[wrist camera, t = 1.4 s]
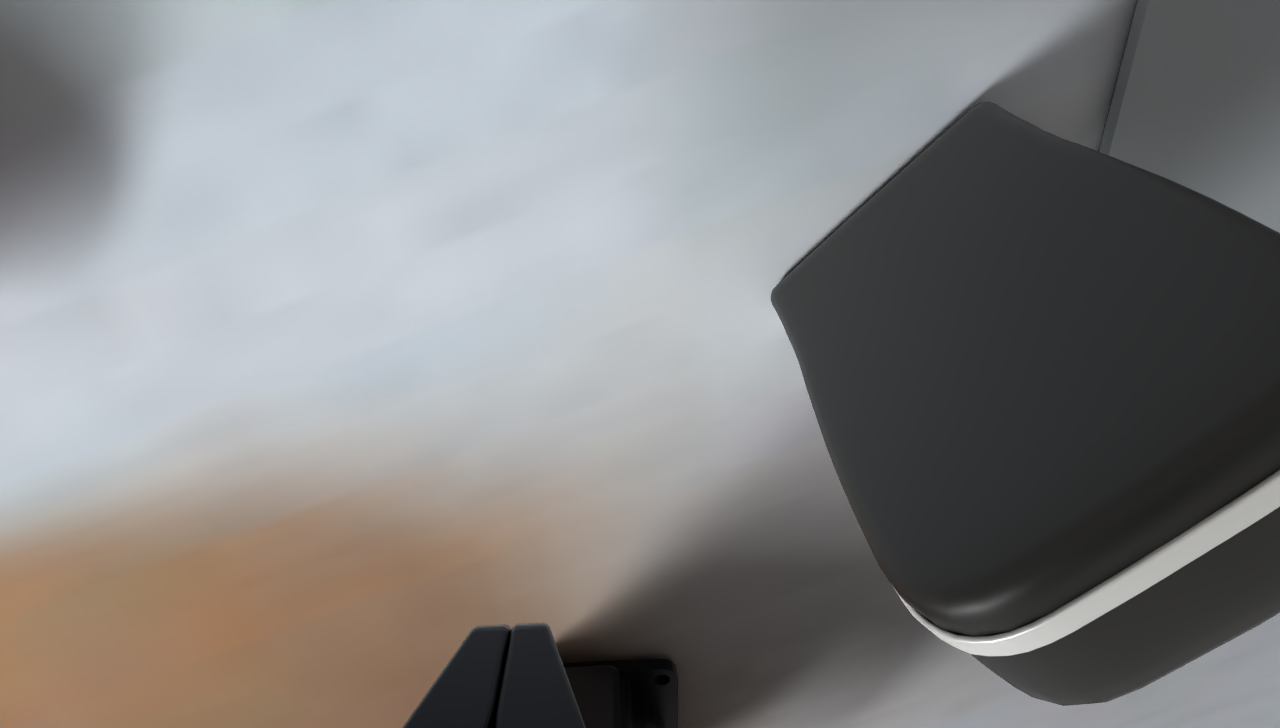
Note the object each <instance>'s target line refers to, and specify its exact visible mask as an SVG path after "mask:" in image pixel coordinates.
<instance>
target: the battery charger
mask: <svg viewBox="0 0 1280 728" xmlns="http://www.w3.org/2000/svg"><path fill="white" fill-rule="evenodd" d="M771 301H772V305H773V306H774V308H775V310H776V312H777V314H778V316H779V318H780V320H781V322H782V324H783V326H784V328H785V331H786V333H787V335H788V337H789V340H790V342H791V344H792V346H793V348H794V351H795V354H796V356H797V359H798V361H799V364H800V367H801V371H802V374H803V377H804V381H805V384H806V387H807V390H808V393H809V396H810V399H811V403H812V406H813V409H814V411H815V414H816V417H817V420H818V423H819V426H820V429H821V432H822V435H823V438H824V441H825V443H826V446H827V449H828V452H829V454H830V457H831V459H832V462H833V464H834V467H835V469H836V472H837V475H838V477H839V480H840V482H841V484H842V487H843V489H844V491H845V493H846V496H847V498H848V500H849V503H850V505H851V507H852V509H853V511H854V514H855V516H856V518H857V520H858V522H859V524H860V527H861V529H862V531H863V533H864V535H865V537H866V539H867V542H868V544H869V546H870V548H871V550H872V552H873V554H874V556H875V558H876V560H877V562H878V564H879V566H880V568H881V569H882V571H883V572H884V574H885V575H886V577H887V578H888V580H889V581H890V583H891V584H892V586H893V588H894V589H895V590H896V592H897V594H898V595H899V597H900V598H901V600H902V602H903V603H904V605H905V606H906V607H907V609H908V610H909V611H910V613H911V614H912V615H913V616H914V617H915V618H916V619H917V620H918V621H919V622H920V623H921V624H923V625H924V626H925V627H926V628H927V629H928V630H930V631H931V632H932V633H934V634H935V635H936V636H937V637H939V638H940V639H941V640H943V641H945V642H946V643H948V644H950V645H952V646H953V647H955V648H957V649H960V650H962V651H965V652H967V653H970V654H971V655H972V656H974V657H975V658H976V659H977V660H979V661H980V662H981V663H982V664H984V665H985V666H986V667H987V668H989V669H990V670H992V671H993V672H994V673H996V674H997V675H999V676H1000V677H1001V678H1003V679H1004V680H1005V681H1007V682H1008V683H1010V684H1011V685H1012V686H1014V687H1016V688H1017V689H1019V690H1021V691H1022V692H1024V693H1026V694H1028V695H1029V696H1031V697H1034V698H1038V699H1041V700H1045V701H1048V702H1052V703H1056V704H1059V705H1063V706H1065V705H1079V704H1091V703H1101V702H1108V701H1110V700H1113V699H1115V698H1118V697H1120V696H1123V695H1125V694H1128V693H1130V692H1133V691H1135V690H1138V689H1140V688H1143V687H1144V686H1146V685H1148V684H1150V683H1152V682H1154V681H1156V680H1158V679H1159V678H1161V677H1163V676H1165V675H1167V674H1169V673H1171V672H1172V671H1174V670H1176V669H1178V668H1180V667H1182V666H1184V665H1185V664H1187V663H1189V662H1191V661H1193V660H1195V659H1197V658H1198V657H1200V656H1202V655H1204V654H1206V653H1208V652H1210V651H1211V650H1213V649H1215V648H1217V647H1219V646H1221V645H1223V644H1224V643H1226V642H1228V641H1230V640H1232V639H1234V638H1236V637H1237V636H1239V635H1241V634H1243V633H1245V632H1247V631H1248V630H1250V629H1252V628H1254V627H1256V626H1258V625H1260V624H1261V623H1263V622H1265V621H1266V620H1268V619H1270V618H1271V617H1273V616H1275V615H1276V614H1278V613H1280V233H1279V232H1277V231H1275V230H1273V229H1271V228H1269V227H1267V226H1265V225H1263V224H1261V223H1259V222H1258V221H1256V220H1254V219H1252V218H1250V217H1248V216H1246V215H1244V214H1242V213H1240V212H1238V211H1236V210H1234V209H1232V208H1230V207H1228V206H1226V205H1224V204H1222V203H1220V202H1218V201H1216V200H1214V199H1212V198H1210V197H1208V196H1205V195H1203V194H1201V193H1199V192H1196V191H1194V190H1192V189H1190V188H1187V187H1185V186H1183V185H1181V184H1178V183H1176V182H1174V181H1172V180H1169V179H1167V178H1165V177H1162V176H1160V175H1157V174H1155V173H1152V172H1150V171H1147V170H1145V169H1142V168H1139V167H1137V166H1134V165H1132V164H1129V163H1127V162H1124V161H1121V160H1119V159H1117V158H1114V157H1111V156H1109V155H1106V154H1103V153H1101V152H1098V151H1095V150H1093V149H1090V148H1087V147H1084V146H1081V145H1079V144H1076V143H1073V142H1070V141H1067V140H1064V139H1062V138H1059V137H1057V136H1055V135H1053V134H1050V133H1048V132H1046V131H1044V130H1041V129H1040V128H1038V127H1036V126H1034V125H1032V124H1030V123H1028V122H1026V121H1024V120H1022V119H1019V118H1018V117H1016V116H1014V115H1013V114H1011V113H1009V112H1007V111H1006V110H1004V109H1002V108H1000V107H999V106H997V105H996V104H993V103H990V102H983V103H980V104H978V105H976V106H975V107H973V108H972V109H971V110H970V111H969V112H967V113H966V114H965V115H964V116H963V117H962V118H961V119H959V120H958V121H957V122H956V123H955V124H954V125H953V126H951V127H950V128H949V129H948V130H947V131H946V132H945V133H944V134H942V135H941V136H940V137H939V138H938V139H937V140H936V141H935V142H933V143H932V144H931V145H930V146H929V147H928V148H927V149H925V150H924V151H923V152H922V153H921V154H920V155H919V156H918V157H917V158H915V159H914V160H913V161H912V162H911V163H910V164H909V165H908V166H907V167H905V168H904V169H903V170H902V171H901V172H900V173H899V174H898V175H896V176H895V177H894V178H893V179H892V180H891V181H890V182H889V183H888V184H886V185H885V186H884V187H883V188H882V189H881V190H880V191H879V192H878V193H876V194H875V195H874V196H873V197H872V198H871V199H870V200H869V201H867V202H866V203H865V204H864V205H863V206H862V207H861V208H860V209H859V210H858V211H857V212H856V213H854V214H853V215H852V216H851V217H850V218H849V219H848V220H847V221H846V222H845V223H844V224H842V225H841V226H840V227H839V228H838V229H837V230H836V231H835V232H834V233H833V234H832V235H830V236H829V237H828V238H827V239H826V240H825V241H824V242H823V243H822V244H821V245H820V246H818V247H817V248H816V249H815V250H814V251H813V252H812V253H811V254H810V255H809V256H808V257H807V258H805V259H804V260H803V261H802V262H801V263H800V264H799V265H798V266H797V267H796V268H795V269H794V270H793V271H792V272H790V273H789V274H788V275H787V276H786V277H785V278H784V279H783V280H782V281H781V282H780V283H779V284H778V285H777V286H776V287H775V288H774V289H773V290H772V293H771Z"/></svg>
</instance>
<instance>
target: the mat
mask: <svg viewBox="0 0 1280 728" xmlns="http://www.w3.org/2000/svg"><path fill="white" fill-rule="evenodd" d="M1099 152H1101V153H1103V154H1106V155H1109V156H1111V157H1114V158H1117V159H1119V160H1121V161H1124V162H1127V163H1129V164H1132V165H1134V166H1137V167H1139V168H1142V169H1145V170H1147V171H1150V172H1152V173H1155V174H1157V175H1160V176H1162V177H1165V178H1167V179H1169V180H1172V181H1174V182H1176V183H1178V184H1181V185H1183V186H1185V187H1187V188H1190V189H1192V190H1194V191H1196V192H1199V193H1201V194H1203V195H1205V196H1208V197H1210V198H1212V199H1214V200H1216V201H1218V202H1220V203H1222V204H1224V205H1226V206H1228V207H1230V208H1232V209H1234V210H1236V211H1238V212H1240V213H1242V214H1244V215H1246V216H1248V217H1250V218H1252V219H1254V220H1256V221H1258V222H1259V223H1261V224H1263V225H1265V226H1267V227H1269V228H1271V229H1273V230H1275V231H1277V232H1279V233H1280V0H1138V1H1137V5H1136V9H1135V13H1134V16H1133V20H1132V24H1131V28H1130V32H1129V36H1128V40H1127V44H1126V48H1125V51H1124V55H1123V59H1122V63H1121V67H1120V71H1119V75H1118V79H1117V83H1116V87H1115V90H1114V94H1113V98H1112V102H1111V106H1110V110H1109V114H1108V118H1107V122H1106V125H1105V129H1104V133H1103V137H1102V141H1101V145H1100V149H1099Z"/></svg>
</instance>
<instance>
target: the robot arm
mask: <svg viewBox="0 0 1280 728" xmlns="http://www.w3.org/2000/svg"><path fill="white" fill-rule="evenodd" d="M662 674H663V675H662ZM403 728H678V677H677V668H676V665H675V664H674V663H673V662H672V661H669V660H666V659H652V660H630V661H608V662H586V663H564V664H563V663H562V660H561V657H560V655H559V652H558V649H557V646H556V643H555V641H554V638H553V635H552V632H551V630H550V627H549V626H548V625H547V624H546V623H528V624H516V625H515V626H513V628H512V629H511V627H510V626H508V625H482V626H477V627H475V628H474V629H472V631H471V632H470V633H469V635H468V636H467V637H466V639H465V640H464V642H463V643H462V644H461V646H460V647H459V649H458V650H457V651H456V653H455V654H454V656H453V657H452V658H451V660H450V661H449V663H448V664H447V666H446V667H445V668H444V670H443V671H442V673H441V674H440V675H439V677H438V678H437V680H436V681H435V682H434V684H433V685H432V687H431V688H430V689H429V691H428V692H427V694H426V695H425V697H424V698H423V699H422V701H421V702H420V704H419V705H418V706H417V708H416V709H415V711H414V712H413V713H412V715H411V716H410V718H409V719H408V721H407V722H406V723H405V725H404V726H403Z"/></svg>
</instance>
